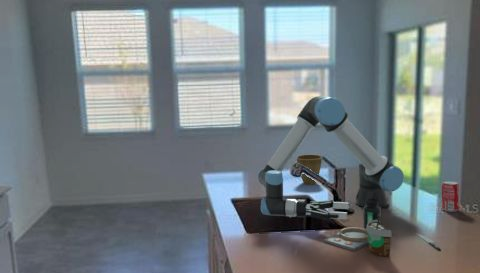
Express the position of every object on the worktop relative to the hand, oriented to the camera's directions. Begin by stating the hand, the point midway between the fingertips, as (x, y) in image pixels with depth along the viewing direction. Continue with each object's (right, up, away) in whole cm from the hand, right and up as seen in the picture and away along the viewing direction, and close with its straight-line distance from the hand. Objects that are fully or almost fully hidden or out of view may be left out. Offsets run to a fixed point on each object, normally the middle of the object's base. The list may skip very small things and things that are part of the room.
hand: (347, 210), depth 175 cm
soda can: (+51, -3, +17) cm, 54 cm away
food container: (+3, -11, -25) cm, 27 cm away
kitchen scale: (-2, -9, -13) cm, 16 cm away
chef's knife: (+26, -9, -16) cm, 32 cm away
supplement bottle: (+9, -7, -2) cm, 12 cm away
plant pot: (-3, +3, +76) cm, 76 cm away
